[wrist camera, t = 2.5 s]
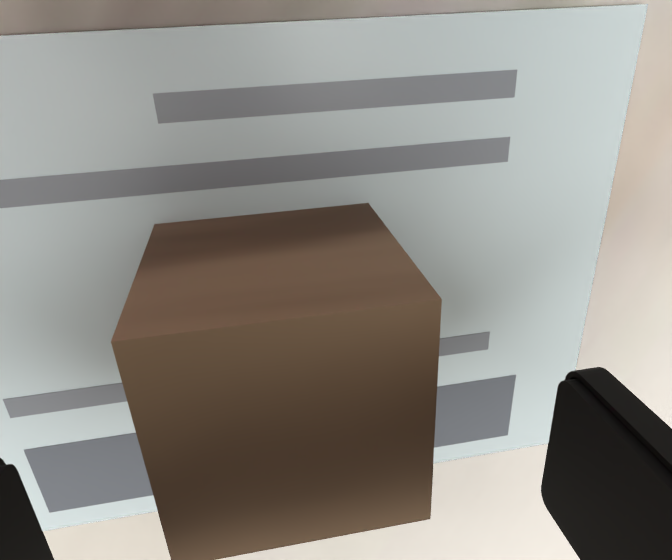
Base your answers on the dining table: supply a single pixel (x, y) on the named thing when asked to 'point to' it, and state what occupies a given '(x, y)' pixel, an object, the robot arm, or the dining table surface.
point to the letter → (303, 203)
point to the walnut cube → (281, 379)
